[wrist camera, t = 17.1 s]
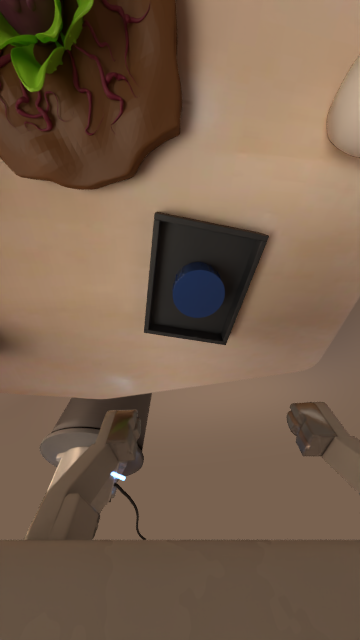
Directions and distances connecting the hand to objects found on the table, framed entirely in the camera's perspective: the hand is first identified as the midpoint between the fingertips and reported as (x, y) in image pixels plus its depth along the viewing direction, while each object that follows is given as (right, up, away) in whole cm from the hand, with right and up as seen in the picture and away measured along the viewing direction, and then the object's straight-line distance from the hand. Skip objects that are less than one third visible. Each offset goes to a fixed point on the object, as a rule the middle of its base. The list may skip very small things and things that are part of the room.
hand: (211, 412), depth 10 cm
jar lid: (+1, +10, +15) cm, 17 cm away
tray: (0, +10, +15) cm, 18 cm away
